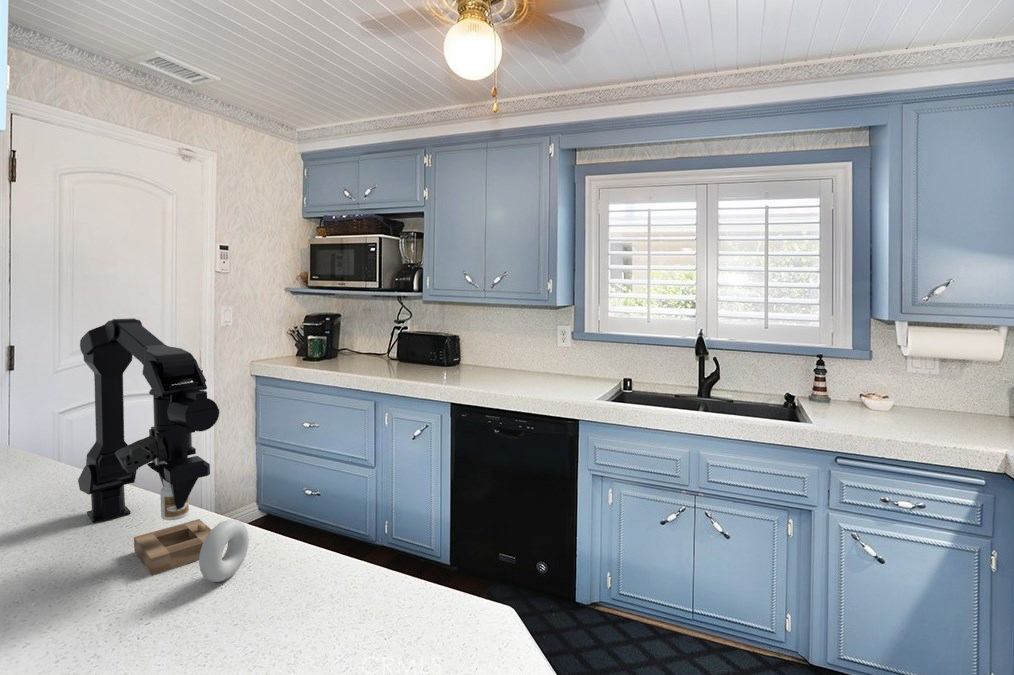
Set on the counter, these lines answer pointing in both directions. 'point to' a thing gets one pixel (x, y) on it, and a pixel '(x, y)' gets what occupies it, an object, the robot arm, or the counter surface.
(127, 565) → the counter surface
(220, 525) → the donut
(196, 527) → the socket block
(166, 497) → the pill bottle
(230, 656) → the counter surface
